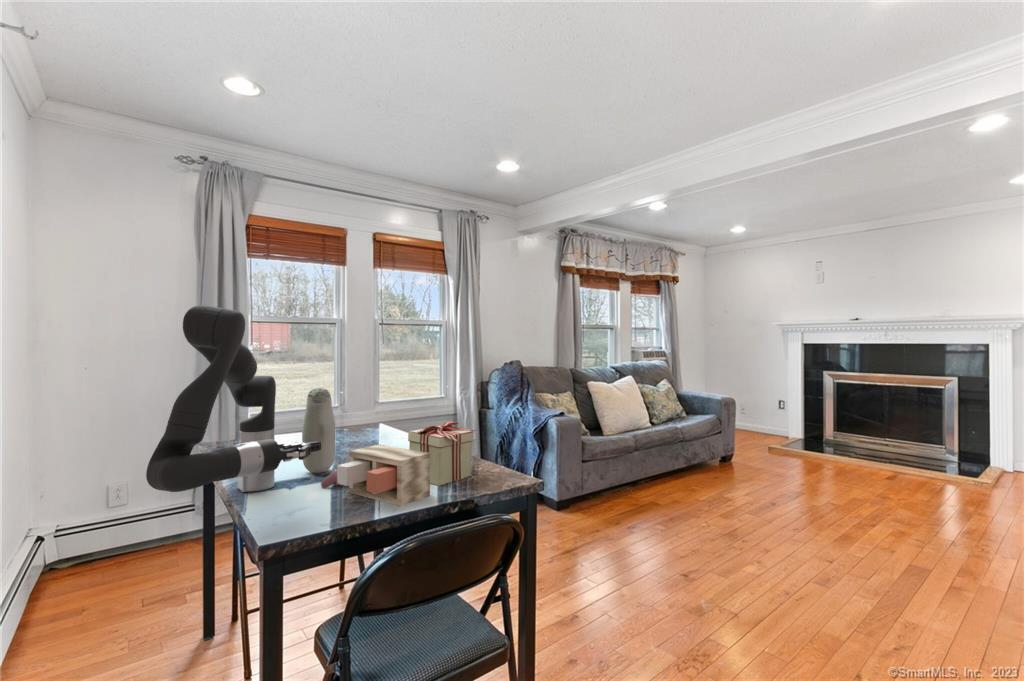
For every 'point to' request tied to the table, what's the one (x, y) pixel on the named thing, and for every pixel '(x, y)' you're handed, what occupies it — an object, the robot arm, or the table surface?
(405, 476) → the box
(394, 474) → the rust-red plug
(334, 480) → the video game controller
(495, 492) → the table surface
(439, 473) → the gift box
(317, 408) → the off-white bottle
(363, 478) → the off-white plug
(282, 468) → the table surface
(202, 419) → the robot arm
